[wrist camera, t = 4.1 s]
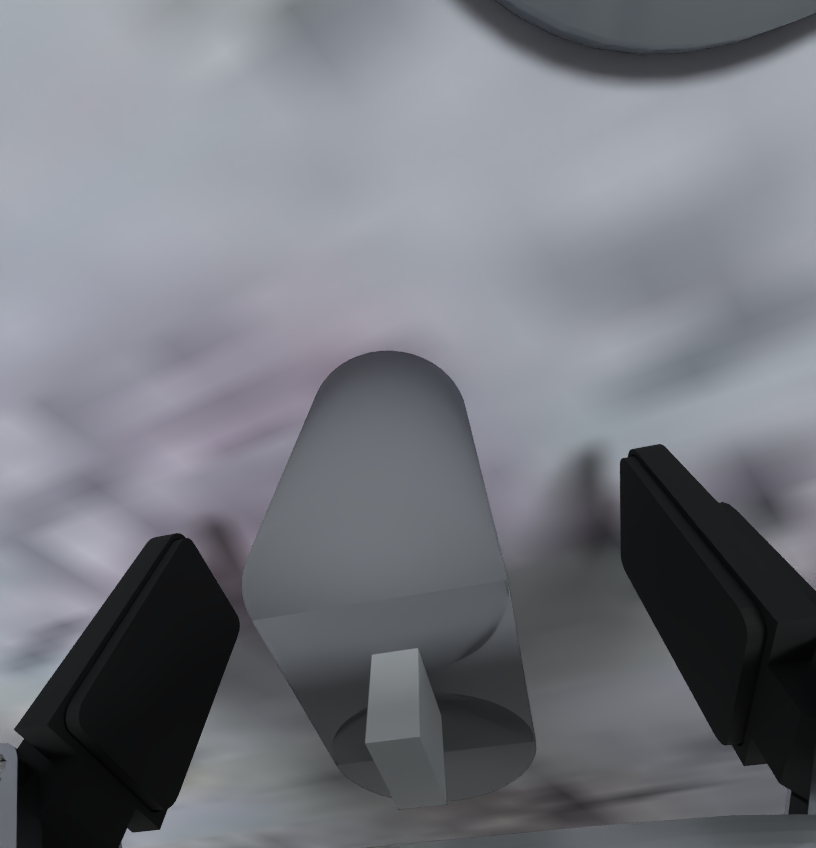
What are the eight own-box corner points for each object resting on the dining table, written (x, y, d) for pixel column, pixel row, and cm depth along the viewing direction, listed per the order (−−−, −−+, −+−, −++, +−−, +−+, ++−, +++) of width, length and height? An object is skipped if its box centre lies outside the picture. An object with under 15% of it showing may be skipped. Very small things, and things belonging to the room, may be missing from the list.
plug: (289, 370, 10) (145, 605, 4) (451, 334, 10) (508, 544, 4) (377, 603, 13) (357, 893, 8) (499, 584, 13) (563, 876, 8)
